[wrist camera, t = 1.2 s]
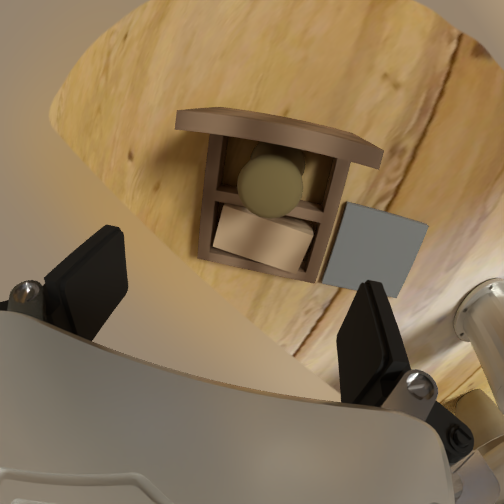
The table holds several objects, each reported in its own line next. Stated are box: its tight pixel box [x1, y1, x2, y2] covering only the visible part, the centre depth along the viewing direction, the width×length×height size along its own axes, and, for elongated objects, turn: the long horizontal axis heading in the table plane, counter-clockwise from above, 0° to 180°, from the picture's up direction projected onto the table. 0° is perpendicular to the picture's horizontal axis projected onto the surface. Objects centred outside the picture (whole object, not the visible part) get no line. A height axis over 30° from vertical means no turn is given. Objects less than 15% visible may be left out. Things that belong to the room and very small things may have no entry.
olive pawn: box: [237, 141, 305, 219], centre depth 26 cm, size 6×6×11 cm
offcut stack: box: [213, 203, 313, 274], centre depth 33 cm, size 10×5×4 cm, turn 74°
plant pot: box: [455, 389, 504, 455], centre depth 40 cm, size 15×15×16 cm
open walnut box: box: [175, 107, 384, 283], centre depth 27 cm, size 14×18×12 cm
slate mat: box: [322, 202, 429, 298], centre depth 34 cm, size 11×11×1 cm
